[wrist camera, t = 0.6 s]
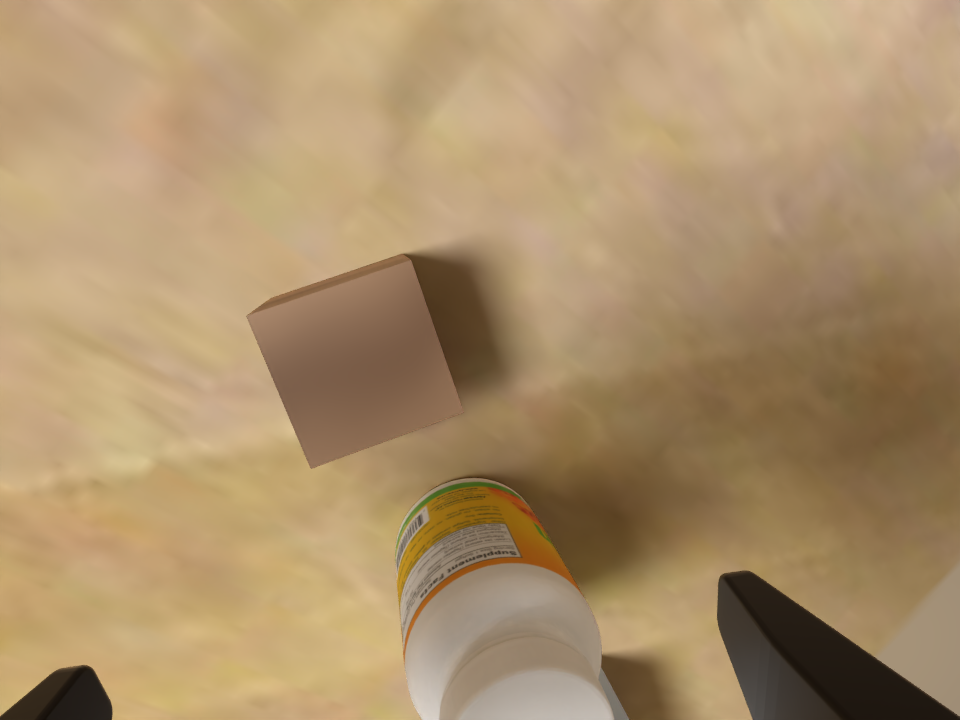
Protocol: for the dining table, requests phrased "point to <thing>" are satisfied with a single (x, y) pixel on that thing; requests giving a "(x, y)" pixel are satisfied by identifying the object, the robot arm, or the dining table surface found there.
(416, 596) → the supplement bottle
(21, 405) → the dining table surface
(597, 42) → the dining table surface
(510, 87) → the dining table surface
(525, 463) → the dining table surface
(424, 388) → the pinkish brown block
